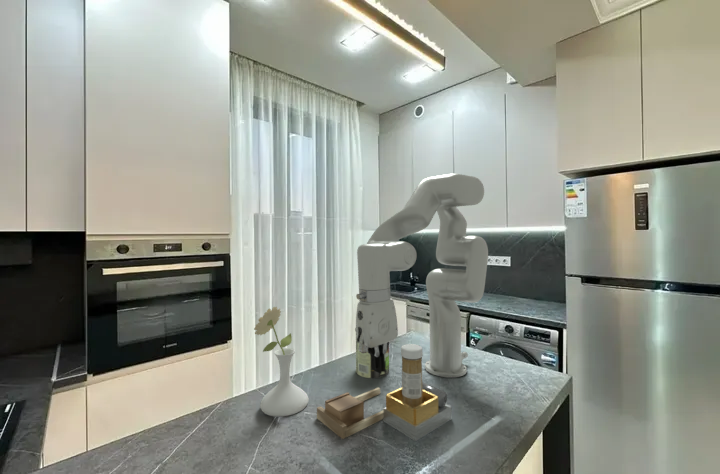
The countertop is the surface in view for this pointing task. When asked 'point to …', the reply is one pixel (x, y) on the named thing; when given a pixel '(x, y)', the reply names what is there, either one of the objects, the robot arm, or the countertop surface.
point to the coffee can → (369, 364)
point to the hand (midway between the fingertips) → (378, 370)
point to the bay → (346, 431)
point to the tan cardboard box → (346, 408)
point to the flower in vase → (285, 393)
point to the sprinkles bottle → (412, 374)
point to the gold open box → (417, 412)
